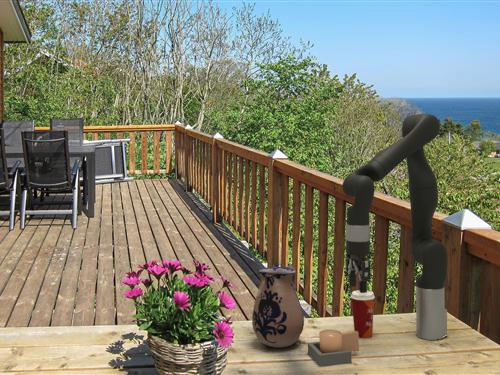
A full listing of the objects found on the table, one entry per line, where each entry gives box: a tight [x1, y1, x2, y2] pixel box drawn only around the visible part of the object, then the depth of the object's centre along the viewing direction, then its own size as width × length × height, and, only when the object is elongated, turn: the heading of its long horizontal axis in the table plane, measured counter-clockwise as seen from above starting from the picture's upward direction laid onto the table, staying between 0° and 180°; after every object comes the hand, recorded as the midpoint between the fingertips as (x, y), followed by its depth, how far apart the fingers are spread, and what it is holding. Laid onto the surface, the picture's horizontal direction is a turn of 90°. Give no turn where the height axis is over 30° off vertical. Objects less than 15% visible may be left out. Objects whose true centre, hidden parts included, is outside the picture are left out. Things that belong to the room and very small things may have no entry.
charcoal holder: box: [307, 341, 353, 368], centre depth 185 cm, size 10×11×4 cm
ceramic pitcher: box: [251, 265, 305, 349], centre depth 200 cm, size 18×21×25 cm
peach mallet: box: [318, 328, 360, 354], centre depth 185 cm, size 12×7×8 cm, turn 103°
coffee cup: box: [350, 289, 375, 339], centre depth 204 cm, size 8×8×15 cm
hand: (357, 289), depth 187 cm, fingers open, 8 cm apart
